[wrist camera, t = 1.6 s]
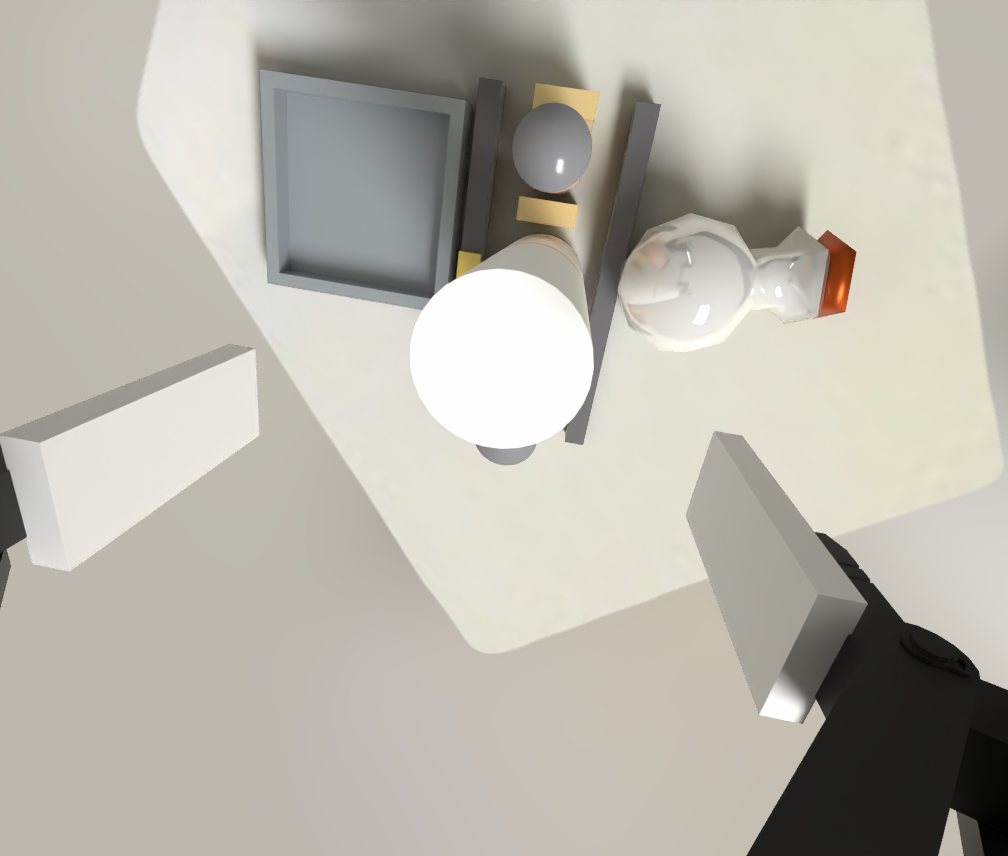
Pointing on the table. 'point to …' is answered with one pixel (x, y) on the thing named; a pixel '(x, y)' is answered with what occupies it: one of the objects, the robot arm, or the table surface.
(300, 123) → the tray
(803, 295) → the potion bottle
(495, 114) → the fuse holder
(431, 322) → the cylindrical container
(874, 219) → the table surface
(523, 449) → the fuse
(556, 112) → the cylinder
